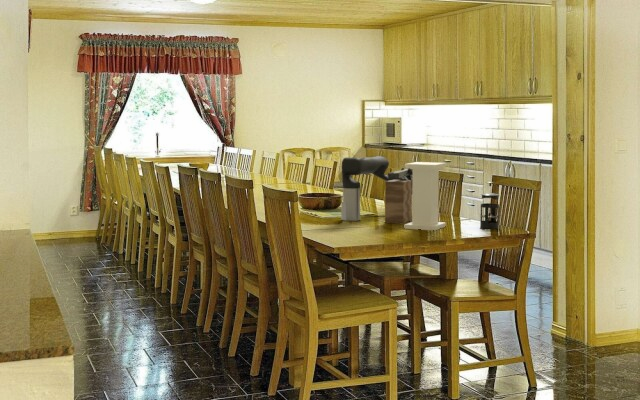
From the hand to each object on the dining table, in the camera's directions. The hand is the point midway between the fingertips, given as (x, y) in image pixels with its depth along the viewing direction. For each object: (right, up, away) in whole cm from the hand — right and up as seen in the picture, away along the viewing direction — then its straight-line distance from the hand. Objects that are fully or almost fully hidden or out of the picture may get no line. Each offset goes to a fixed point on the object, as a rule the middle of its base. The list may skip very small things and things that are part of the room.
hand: (405, 169), depth 443 cm
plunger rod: (-3, -4, -5) cm, 7 cm away
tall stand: (+7, -30, -27) cm, 41 cm away
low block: (-4, -27, -5) cm, 28 cm away
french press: (+39, -30, -30) cm, 57 cm away
